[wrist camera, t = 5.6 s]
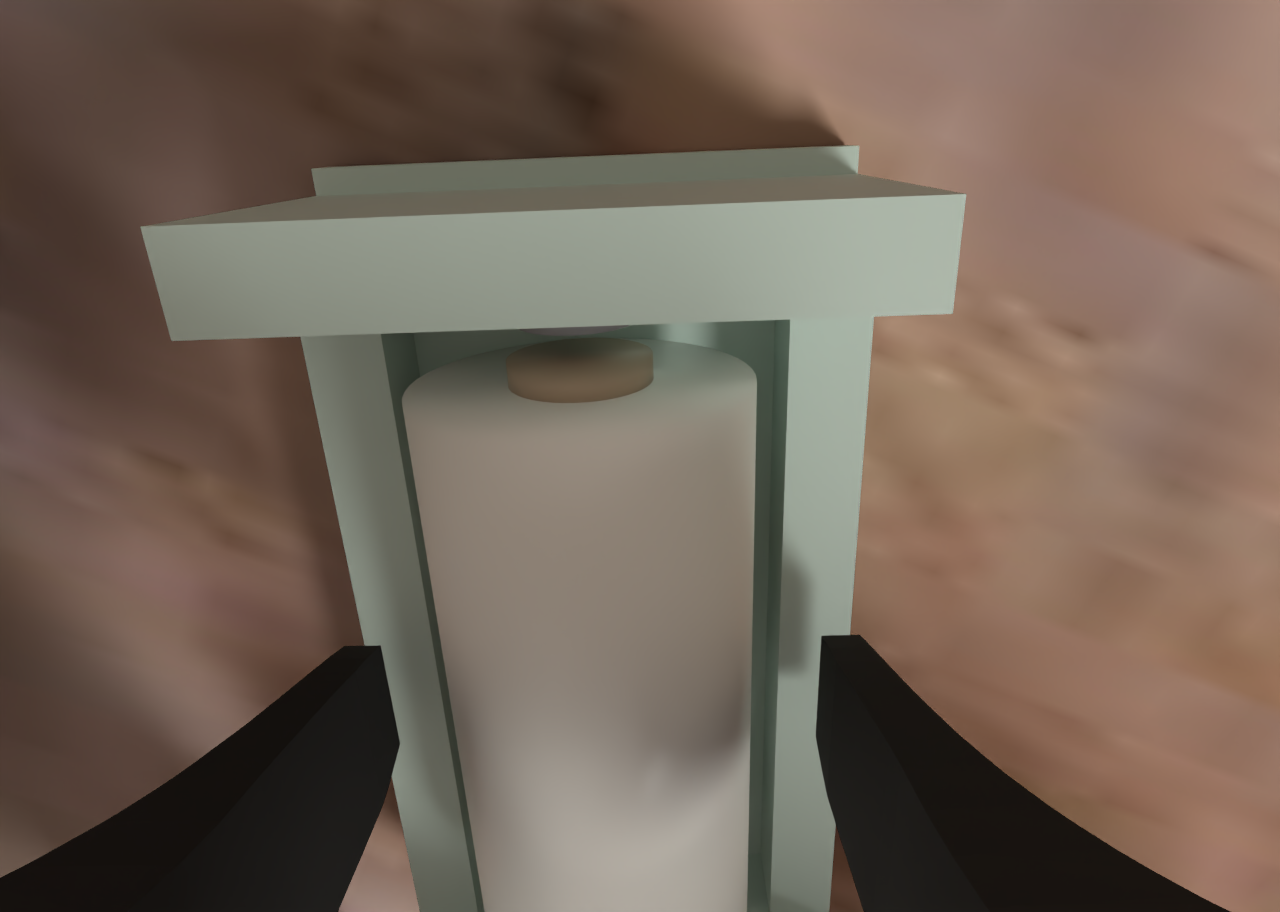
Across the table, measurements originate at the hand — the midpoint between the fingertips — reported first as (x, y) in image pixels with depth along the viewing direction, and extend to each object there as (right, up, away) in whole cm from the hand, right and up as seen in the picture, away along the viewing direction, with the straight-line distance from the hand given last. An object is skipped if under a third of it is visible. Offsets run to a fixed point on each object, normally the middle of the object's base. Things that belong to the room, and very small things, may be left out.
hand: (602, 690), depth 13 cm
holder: (0, +1, +3) cm, 3 cm away
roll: (0, 0, 0) cm, 0 cm away
